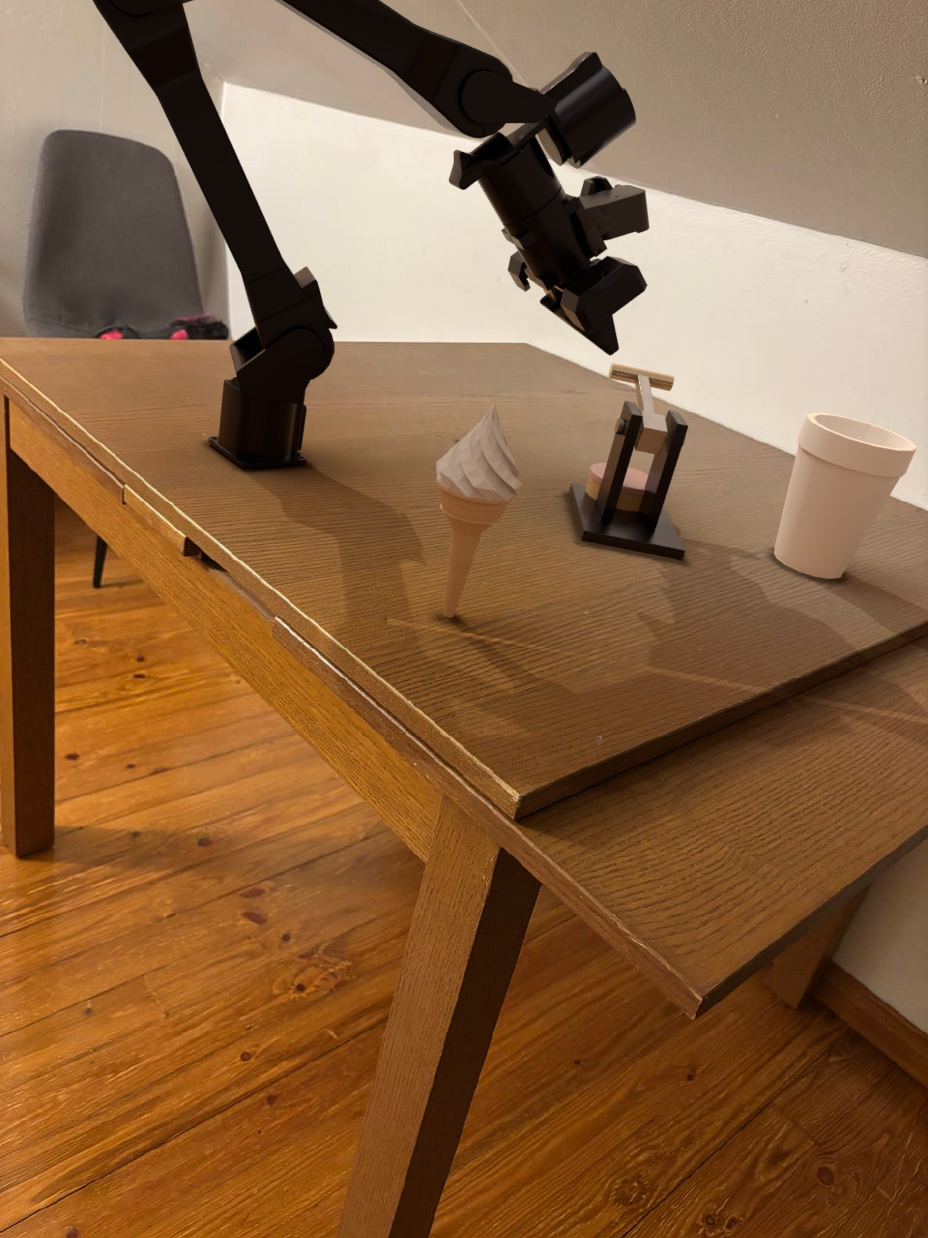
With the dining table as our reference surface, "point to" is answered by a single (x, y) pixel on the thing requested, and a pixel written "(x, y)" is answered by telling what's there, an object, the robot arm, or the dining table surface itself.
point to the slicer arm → (646, 404)
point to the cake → (630, 489)
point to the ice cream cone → (474, 496)
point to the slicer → (651, 522)
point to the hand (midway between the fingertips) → (613, 351)
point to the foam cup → (837, 491)
